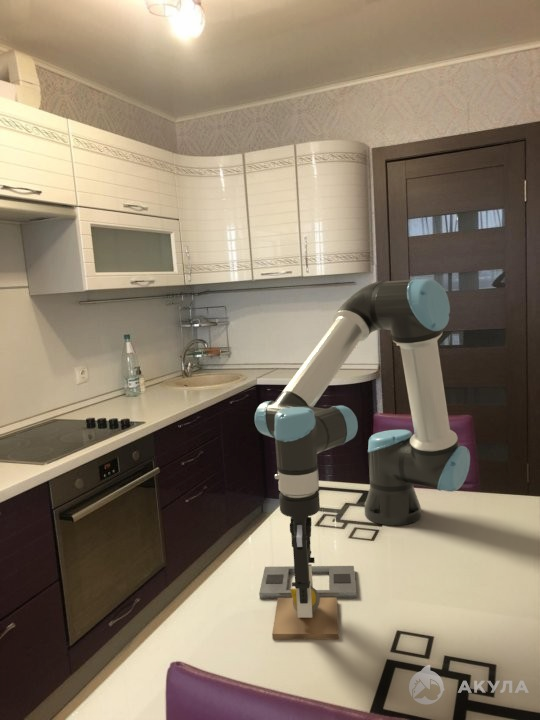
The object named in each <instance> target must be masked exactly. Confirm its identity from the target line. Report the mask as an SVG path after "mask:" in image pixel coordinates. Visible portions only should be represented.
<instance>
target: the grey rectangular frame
mask: <svg viewBox="0 0 540 720" xmlns="http://www.w3.org/2000/svg"><path fill="white" fill-rule="evenodd" d="M291 574H293V575H295V571H294V565H293V566H290V565H289V566H264V569H263V575H262V578H261V584H260V587H259V593H258V596H259V599H278V598H293V597H292V594H291V591H290V589H288V586H289V585H288V584H289V579H290V575H291ZM312 574H328V580H329V581H328V583H329V584H328V585H329V587H328V589H316V591H317V592H318V594H319V597H320V598H337V599H349V598H350V599H357V586H356V575H355V574H356V573H355V565H312Z"/></svg>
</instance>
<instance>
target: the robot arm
mask: <svg viewBox="0 0 540 720" xmlns="http://www.w3.org/2000/svg"><path fill="white" fill-rule="evenodd" d="M450 313H451V308H450V300H449V296H448V294H447V292H446V290H445V289H444V287H443V285H442V284H440V283H439V282H438V281H436V280H434V279H428V278H427V279H426V278H425V279H424V278H423V279H422V278H411V279H401V280H389V281H385V280H384V281H375V282H371V283H369V284H367V285H365V286H364V287H362V288H360V289H359V290H358V291H356V292H355V293H353V294H352V295H351V296H350V297H349V298H348V299H346V300H345V302H344V303H343V304H342V305H341V306H340V307H339V308H338V310H337V311H336V312H335V313H334V315H333V317H332V325H331V326H330V327H329V329H328V330H327V331H326V332H325V334H324V335H323V336H322V338H321V339H320V341H319V342H318V344H316V346H315V347H314V349H312V351H311V352H310V353H309V355H308V357H307V358H306V359H305V360H304V362H303V363H302V365H300V367H299V369H298V370H297V371H296V373H295V374H294V375H293V376H292V377H291V379H290V380H289V382H288V384H286V386H285V387H284V389H283V390H282V392H281V393H280V394H279V395H278V397H277V398H276V399H275V401H274V400H269V401H268V400H267V401H264V402H262V403H260V404H259V405H258V406H257V408H256V411H255V413H254V424H255V427H256V429H257V431H258V432H259V433H260V434H262V435H264V436H267V437H270V438H273V439H274V440H275V441H274V442H275V443H274V444H275V454H276V455H275V456H276V465H277V466H276V468H277V473H276V474H274V479H275V480H278V482H277V483H278V491H280V492H279V493H278V499H279V500H278V501H279V502H278V503H279V511H280V513H281V514H282V515H283V516H285V517H290V523H289V532H290V534H291V535H290V536H291V547H292V549H293V550H292V553H293V554H292V555H293V566H294V571H295V574H294V582H293V581H291V582H292V583H291V586H292V587H294V588H296V597H297V612H298V618H312V599H311V587H313V588H314V584H313V573H312V566H313V565H312V564H315V563H316V562H315V557H312V556H311V555H312V551H311V537H312V516H315V515H316V514H318V512H319V511H320V510H321V509H320V507H321V505H320V491H319V489H320V484H319V483H320V481H319V467H318V454H321V453H322V452H325V451H328V450H330V449H333V448H336V447H339V446H343V445H345V444H346V443H347V442H349V441H351V440H353V439H354V438H355V437H356V435H357V432H358V428H359V425H358V424H359V423H358V419H357V416H356V414H355V413H354V412H353V410H352V409H351V408H349V407H347V406H346V405H333V406H330V407H328V408H323V407H315V405H316V404H317V402H318V401H319V400H320V398H321V397H322V395H323V394H324V392H325V391H326V389H327V388H328V387H329V385H330V384H331V382H332V381H333V379H335V377H336V375H337V374H338V372H339V371H340V369H341V368H342V367H343V365H344V364H345V363H346V361H347V360H348V358H349V357H350V355H351V354H352V352H354V350H355V348H356V347H357V345H358V344H359V343H360V342H362V341H365V340H366V339H368V337H369V336H370V334H372V333H373V332H375V331H379V330H385V331H386V330H388V331H390V335H391V339H392V342H393V343H395V344H396V345H398V346H399V348H400V355H401V359H402V365H403V372H404V377H405V384H406V390H407V397H408V402H409V408H410V414H411V419H412V420H411V421H412V426H413V427H412V428H413V431H414V433H413V434H412V431H411V430H409V429H389V430H384V431H379V432H376V433H374V434H371V436H370V437H369V439H368V447H367V448H368V449H367V454H368V468H369V490H368V493H367V496H366V499H365V503H364V516H365V518H366V519H368V520H369V521H371V522H373V523H376V524H378V525H385V526H404V525H409V524H413V523H416V522H418V521H419V520H420V519H421V517H422V508H421V504H420V501H419V499H418V496H417V493H416V491H415V488H414V485H417V486H422V487H427V488H431V489H435V490H438V491H445V492H450V493H451V492H456V491H458V490H459V489H460V488H461V487H462V486H463V484H464V483H465V481H466V479H467V476H468V473H469V470H470V465H471V464H470V463H471V455H470V450H469V449H468V448H467V447H466V446H464V445H459V440H458V439H459V438H458V435H457V433H456V432H455V431H453V430H452V429H451V427H450V421H449V413H448V407H447V401H446V393H445V387H444V380H443V372H442V365H441V359H440V352H439V345H438V340H439V339H440V338H441V336H442V335H443V329H445V328H446V326H448V324H449V320H450V316H449V315H450Z"/></svg>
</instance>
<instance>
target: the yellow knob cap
mask: <svg viewBox="0 0 540 720" xmlns="http://www.w3.org/2000/svg"><path fill="white" fill-rule="evenodd" d="M289 590H290V591H291V594H292V597H293V606H294V609H295V610H296V611H297V597H296V588H295V587H294V588H290V589H289ZM316 590H317V589H316V588H315V587H314V586H313V587H311V599H312V614H313V613H314V612H315V611H316V610H317V608H318V606H319V602H320V597H319V594H318V592H317V591H316Z"/></svg>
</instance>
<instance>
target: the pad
mask: <svg viewBox="0 0 540 720" xmlns="http://www.w3.org/2000/svg"><path fill="white" fill-rule="evenodd" d="M338 620H339V616H338V598H320V602H319V606H318V608H317V610H316V611H315V612H314V613H313V614H312V618H298V612H297V611H296V610H295V609H294V606H293V598H277V601H276V608H275V612H274V620H273V627H272V633H271V637H272V640H273V639H274V640H339V622H338Z"/></svg>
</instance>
